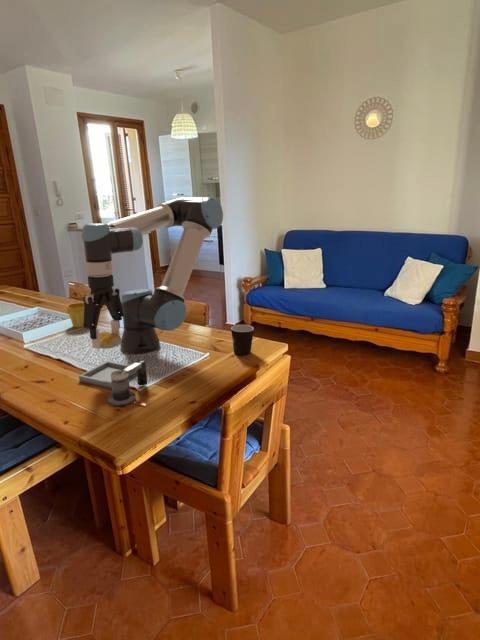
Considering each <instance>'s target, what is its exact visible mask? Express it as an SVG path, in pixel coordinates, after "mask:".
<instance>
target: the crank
mask: <svg viewBox="0 0 480 640" xmlns="http://www.w3.org/2000/svg"><path fill="white" fill-rule="evenodd" d="M135 371H137V375H136V378H137V379H136V380H137V382H136V383H137V385H138V386H145V385H147V384H148V376H147V372H148V371H147V362H146V359H137V360H136V361H135V362H134V363H132V364H130V366H129V367H127V368H125V369H123V370H118V371H115V372H113V373H111V380H112V381H113V382H123V381H126V380H128V379H129V375H130V374H132V373H134V372H135ZM129 380H130V379H129Z"/></svg>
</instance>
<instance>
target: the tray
mask: <svg viewBox="0 0 480 640" xmlns="http://www.w3.org/2000/svg"><path fill="white" fill-rule="evenodd" d="M130 365H131V364H130ZM130 365H128V364H123V363H119V362H116V361H110V360H107V361H105V362H102V363H101V364H99V365H97V366H94V367H93V368H92V369H89V370H87V371H85V372H83V373H82V374H79V375H78V381H79V382H80V383H85V384H88V385H94V386H97V387H102V388H106V389H110V390H112V383H111V373H113V372H115V371H118V370H123V369H125V368H127V367H129V366H130ZM135 376H137V371H135V372H134V373H132V374H130V375H129V380H130V379H131V378H133V377H135Z"/></svg>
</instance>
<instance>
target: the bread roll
mask: <svg viewBox="0 0 480 640" xmlns="http://www.w3.org/2000/svg"><path fill="white" fill-rule="evenodd" d="M99 334H100V344H101V348H100V349H105V350H107V349H113V348H115V347H118V346H121V340H122V336H121V335H120V336H119V335H117V334H115V333H112V332H109V331H102V332H99Z"/></svg>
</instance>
